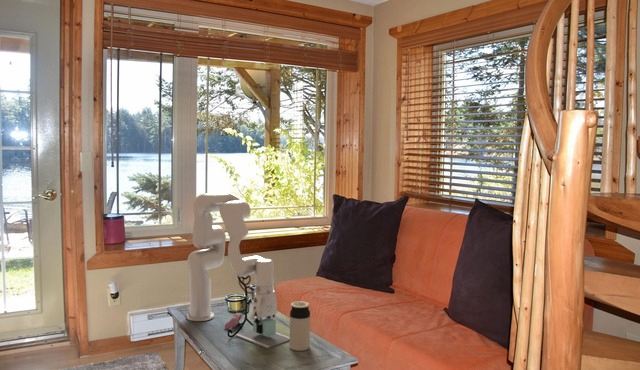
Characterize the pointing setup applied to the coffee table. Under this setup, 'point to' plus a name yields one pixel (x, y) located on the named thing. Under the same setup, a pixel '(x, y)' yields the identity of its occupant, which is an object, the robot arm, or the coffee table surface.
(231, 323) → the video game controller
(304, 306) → the travel mug
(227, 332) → the coffee table surface
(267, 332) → the card deck block
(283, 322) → the coffee table surface
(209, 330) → the coffee table surface
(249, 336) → the mat
